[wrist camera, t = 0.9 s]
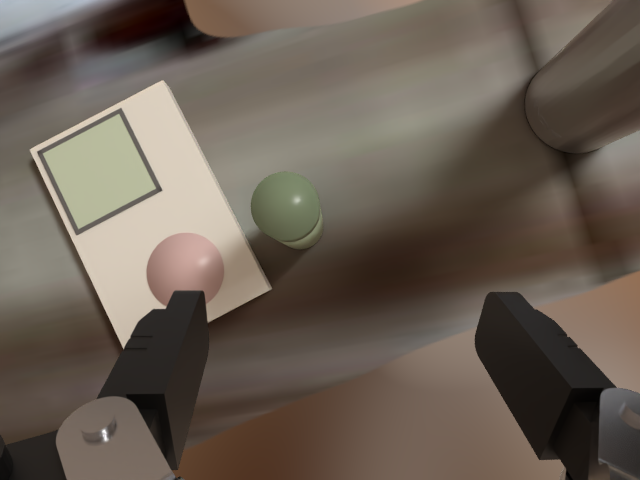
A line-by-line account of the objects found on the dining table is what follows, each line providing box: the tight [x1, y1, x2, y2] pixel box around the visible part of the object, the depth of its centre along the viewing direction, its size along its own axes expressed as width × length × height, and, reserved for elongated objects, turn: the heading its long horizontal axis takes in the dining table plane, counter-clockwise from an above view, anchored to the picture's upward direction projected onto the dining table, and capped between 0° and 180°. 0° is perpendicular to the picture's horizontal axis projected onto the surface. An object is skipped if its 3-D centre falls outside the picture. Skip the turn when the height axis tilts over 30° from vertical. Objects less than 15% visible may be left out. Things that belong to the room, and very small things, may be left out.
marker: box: [251, 172, 323, 249], centre depth 31 cm, size 4×4×12 cm
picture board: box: [30, 80, 272, 349], centre depth 37 cm, size 14×22×2 cm, turn 28°
